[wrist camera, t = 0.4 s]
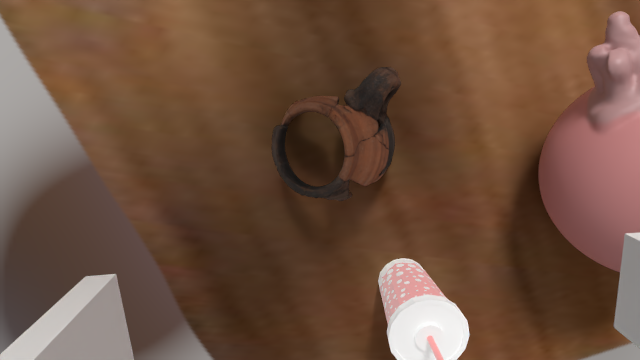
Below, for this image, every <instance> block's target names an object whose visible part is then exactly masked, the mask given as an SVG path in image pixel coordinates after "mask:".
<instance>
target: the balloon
mask: <svg viewBox="0 0 640 360" xmlns="http://www.w3.org/2000/svg"><path fill="white" fill-rule="evenodd" d="M587 64H588V67H589V70H590V73H591V75H592V78H593V80H594V84H595V87H593V88H591V89H590V90H588V91H587V92H585V93H584V94H583V95H581V96H580V97H579V98H577V99H576V100H575V101H574V102H573V103H572V104H571V105H570V106H569V107H568V108H567V109H566V110H565V111H564V112H563V113H562V114H561V116H560V117H559V118H558V119H557V121H556V122H555V124H554V125H553V127H552V128H551V130H550V132H549V134H548V136H547V138H546V140H545V142H544V145H543V148H542V152H541V156H540V161H539V172H538V177H539V187H540V193H541V197H542V200H543V203H544V206H545V208H546V210H547V212H548V214H549V216H550V218H551V220H552V221H553V223H554V224H555V226H556V227H557V229H558V230H559V231H560V232H561V234H562V235H563V236H564V237H565V238H566V239H567V240H568V241H569V242H570V243H571V244H572V245H573V246H574V247H575V248H577V249H578V250H579V251H580V252H582V253H583V254H585V255H586V256H587V257H589V258H591V259H592V260H594V261H596V262H597V263H599V264H601V265H603V266H605V267H607V268H610V269H612V270H614V271H617V272H620V270H621V261H622V253H623V245H624V236H625V234H626V233H639V232H640V36H639V34H638V33H637V31H636V29H635V27H634V26H632V25H631V23H630V19H629V15H628V14H626V13H624V12H621V11H618V12H615V13H613V14H612V15H611V16H610V17H609V18H608V21H607V28H606V39H605V42H604V43H603V44H602V45H598V46H595V47H594V48H592V49H591V50H590V51H589V53H588V56H587Z"/></svg>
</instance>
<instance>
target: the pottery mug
mask: <svg viewBox="0 0 640 360" xmlns="http://www.w3.org/2000/svg"><path fill="white" fill-rule="evenodd" d="M400 85H401V81H400V79H399V77H398V72H397V71H396V70H395V69H393V68H391V67H381V68H378V69H376V70H374V71H373V72H372V73H371V74H370V75H369V76H368V77H367V78H366V79H365V80H364V81H363V82H362V83H361V84H360V86H359V87H358V88H356V89H355V90H348V91H347V92H346V95H345V97H344V100H345V102H346V104H347V105H348V106H345V105H343V106H342V105H338V102H339V98H338V97H335V96H315V97H310V98H305V99H302V100H300V101H296V102H295V103H293V104H292V105H291V106H290V107H289V108H288V109H287V112H286V114H285V116H284V118H283V121H282V123H281V126H280V125H279V126H276V127H275V128H274V130H273V135H272V155H273V159H274V162H275V165H276V166H277V170H278V172H279V174H280V176H281V177H282V179H283V180H284V181H285V183H286V184H287V185H288V186H289V187H290V188H291V189H293V190H294V191H295V192H297V193H299V194H301V195H306V196H308V197H315V198H319V197H321V198H326V199H328V200H338V201H343V200H346V199H349V198H351V197H352V193H350V192H349V180H353V181H354V182H356V183H359V184H361V185H363V186H367V185H369V184H371V183H374V182H376V181H377V180H379V179H380V178H381V177H382V175H383V174H384V173H385V172H386V171H387V169H388V167H389V166H390V164H391V161H392V156H393V152H394V146H395V139H394V132H393V129H392V126H391V124H390V120H389V118H388V117H387V114H386V111H387V105H388V102H389V100H390V99H391V98H392V96H393V95H394V94H395V93H396V91H397V90H398V88H399V87H400ZM305 112H317V113H320V114H323V115H325V116H326V117H329V118H330V119H331V121H333V122H334V124H335V125H336V127H337V128H338V130H339V131H340V134H341V136H342V139H343V143H344V150H345V157H344V163H343V166H342V169H341V171H340V173H339V174H338V177H337V178H336V179H335V180H334V181H332V182H331V183H329V184H328V185H325V186H320V187H314V186H310V185H308V184H306V183H304V182H303V181H301V180H300V179H299V178H298V177H297V176H296V175H295V174H294V172H293V171H292V169H291V167H290V165H289V163H288V160H287V156H286V152H285V137H286V132H287V129H288V126H289V124H290V122H291V121H292V119H293V118H294V117H297V116H298V115H300V114H302V113H305ZM378 122H379V123H380V127H379V129H378Z"/></svg>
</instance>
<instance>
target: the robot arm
mask: <svg viewBox="0 0 640 360" xmlns="http://www.w3.org/2000/svg"><path fill="white" fill-rule="evenodd" d="M614 328H615V329H617V330H618V331H619V332H620V333H621V334H623V335H624V336H625V337H626V338H628V339H629V340H630V341H631V342H632V343H634V344H635V345H636V346H637V347H639V348H640V232H639V233H626V234H625V236H624V245H623V253H622V261H621V270H620V278H619V287H618V295H617V304H616V312H615V321H614ZM0 360H134V357H133V352H132V347H131V343H130V338H129V333H128V329H127V324H126V319H125V314H124V309H123V305H122V300H121V295H120V291H119V285H118V281H117V276H116V274H109V275H97V276H86V277H85V278H84V279H82V280H81V282H79V283H78V284H77V285H76V286H75V287H74V288H73V289H71V290H70V291H69V292H68V293H67V294H66V295H65V296H64V297H63V298H62V299H60V300H59V301H58V302H57V303H56V304H55V305H54V306H53V307H52V308H51V309H50V310H48V311H47V312H46V313H45V314H44V315H43V316H42V317H41V318H40V319H38V320H37V321H36V322H35V323H34V324H33V325H32V326H31V327H30V328H29V329H28V330H26V331H25V332H24V333H23V334H22V335H21V336H20V337H19V338H18V339H17V340H16V341H14V342H13V343H12V344H11V345H10V346H9V347H8V348H7V349H6V350H5V351H3V352H2V353H1V354H0Z"/></svg>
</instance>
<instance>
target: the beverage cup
mask: <svg viewBox="0 0 640 360" xmlns="http://www.w3.org/2000/svg"><path fill="white" fill-rule="evenodd" d="M378 283H379V288H380V292H381V297H382V301H383V305H384V310H385V314H386V319H387V323H388V328H387V336H388V341H389V345H390V350H391V352H392V353H393V355H394V356H395V357H396V359H397V360H457V359H458V357H459V356H460V355H461V354H462V352H463V351H464V350H465V349H466V345H467V342H468V338H469V328H468V321H467V320H466V318H465V317H464V315H463V314H462V312H461V311H460V310H459V308H458V307H457V306H456V304H454V303H453V302H451V301H449V300H448V299H447V298H446V297H445V296H444V294H443V293H442V292H441V291H440V289H439V288H438V287H437V285H436V284H435V283H434V282H433V280H432V279H431V278H430V277H429V275H428V274H427V273H426V272H425V270H424V269H423V268H422V267H421V265H420V264H418V263H417V262H415V261H413V260H411V259H405V258H401V259H396V260H393V261H391V262H390V263H388V264H387V265H385V267H384V268H383V269H382V271H381V272H380V275H379V280H378Z"/></svg>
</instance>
